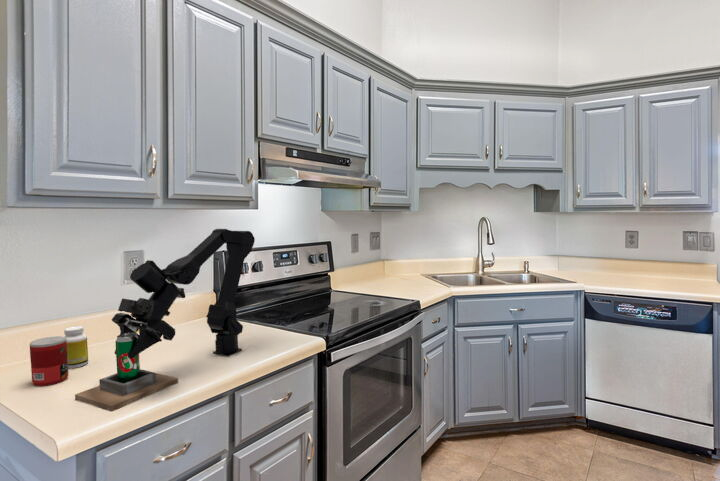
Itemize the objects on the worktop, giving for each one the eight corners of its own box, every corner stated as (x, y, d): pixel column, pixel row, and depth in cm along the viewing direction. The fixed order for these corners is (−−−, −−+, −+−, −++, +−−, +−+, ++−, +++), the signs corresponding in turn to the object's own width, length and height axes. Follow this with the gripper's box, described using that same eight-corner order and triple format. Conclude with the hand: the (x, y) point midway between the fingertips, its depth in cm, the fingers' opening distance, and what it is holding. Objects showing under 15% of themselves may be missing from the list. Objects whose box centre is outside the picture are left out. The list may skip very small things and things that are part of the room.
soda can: (128, 377, 113) (126, 331, 112) (145, 379, 111) (142, 333, 111) (112, 385, 108) (110, 337, 107) (129, 387, 107) (126, 338, 106)
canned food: (69, 381, 116) (66, 341, 115) (31, 389, 111) (28, 346, 110) (68, 373, 122) (65, 334, 121) (32, 379, 118) (29, 339, 117)
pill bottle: (92, 363, 129) (90, 326, 129) (70, 370, 124) (68, 332, 123) (81, 360, 133) (79, 324, 132) (59, 366, 127) (56, 329, 126)
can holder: (142, 373, 121) (142, 360, 121) (178, 382, 115) (177, 368, 114) (75, 399, 105) (74, 384, 105) (112, 411, 99) (111, 395, 98)
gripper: (116, 282, 116) (75, 334, 107) (162, 288, 107) (121, 345, 98) (145, 305, 123) (109, 356, 115) (190, 312, 114) (155, 368, 106)
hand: (122, 356), depth 108 cm, fingers closed on soda can, 5 cm apart
